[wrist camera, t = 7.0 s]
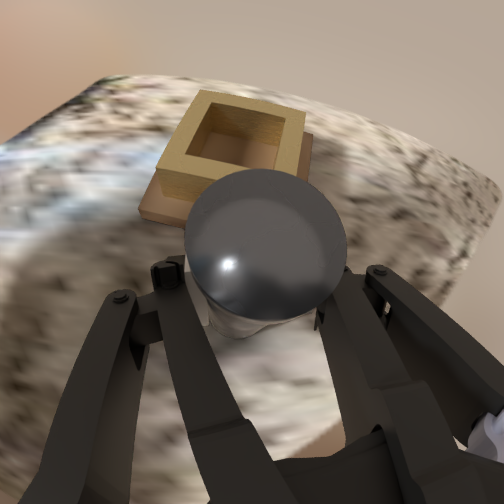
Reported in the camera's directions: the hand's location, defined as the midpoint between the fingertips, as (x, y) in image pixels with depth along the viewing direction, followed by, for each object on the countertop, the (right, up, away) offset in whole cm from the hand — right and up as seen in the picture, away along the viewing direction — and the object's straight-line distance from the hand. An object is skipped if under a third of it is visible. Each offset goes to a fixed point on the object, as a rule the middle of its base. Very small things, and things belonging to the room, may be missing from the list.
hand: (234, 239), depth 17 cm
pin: (0, -5, +2) cm, 5 cm away
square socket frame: (0, +6, +5) cm, 8 cm away
